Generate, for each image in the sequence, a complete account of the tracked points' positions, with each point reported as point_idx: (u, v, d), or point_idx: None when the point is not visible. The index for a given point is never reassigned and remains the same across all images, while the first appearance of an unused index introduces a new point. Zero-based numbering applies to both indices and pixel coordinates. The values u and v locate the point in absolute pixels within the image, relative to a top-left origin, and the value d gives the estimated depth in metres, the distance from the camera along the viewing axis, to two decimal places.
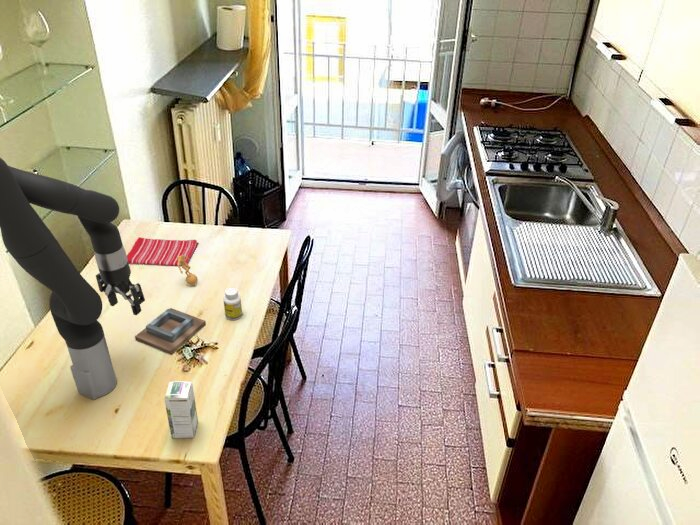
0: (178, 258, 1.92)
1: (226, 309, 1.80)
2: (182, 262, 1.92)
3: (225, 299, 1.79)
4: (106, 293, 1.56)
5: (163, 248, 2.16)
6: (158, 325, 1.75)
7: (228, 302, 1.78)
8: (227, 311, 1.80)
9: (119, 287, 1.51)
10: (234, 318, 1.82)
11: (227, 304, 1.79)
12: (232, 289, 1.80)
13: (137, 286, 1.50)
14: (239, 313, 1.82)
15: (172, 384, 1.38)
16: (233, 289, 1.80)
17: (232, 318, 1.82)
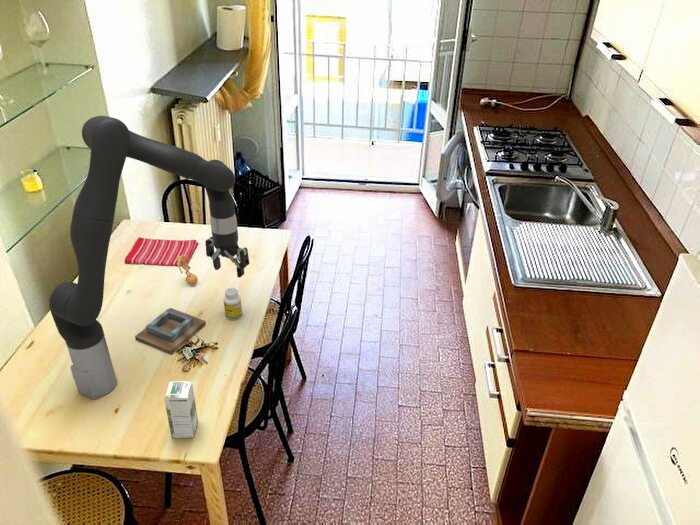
0: (178, 258, 1.92)
1: (226, 309, 1.80)
2: (182, 262, 1.92)
3: (225, 299, 1.79)
4: (213, 257, 1.73)
5: (163, 248, 2.16)
6: (158, 325, 1.75)
7: (228, 302, 1.78)
8: (227, 311, 1.80)
9: (228, 251, 1.68)
10: (234, 318, 1.82)
11: (227, 304, 1.79)
12: (232, 289, 1.80)
13: (245, 250, 1.67)
14: (239, 313, 1.82)
15: (172, 384, 1.38)
16: (233, 289, 1.80)
17: (232, 318, 1.82)
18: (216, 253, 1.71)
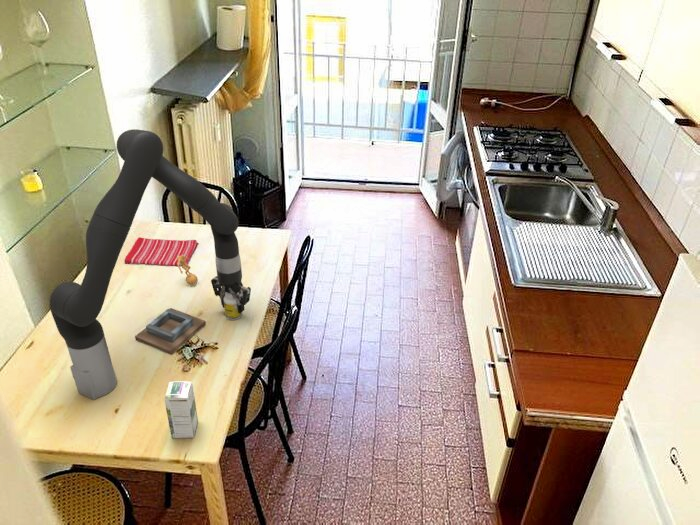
0: (178, 258, 1.92)
1: (226, 309, 1.80)
2: (182, 262, 1.92)
3: (225, 299, 1.79)
4: (221, 296, 1.81)
5: (163, 248, 2.16)
6: (158, 325, 1.75)
7: (228, 302, 1.78)
8: (227, 311, 1.80)
9: (232, 288, 1.76)
10: (234, 318, 1.82)
11: (227, 304, 1.79)
12: None
13: (248, 290, 1.75)
14: None
15: (172, 384, 1.38)
16: None
17: (232, 318, 1.82)
18: (222, 291, 1.78)
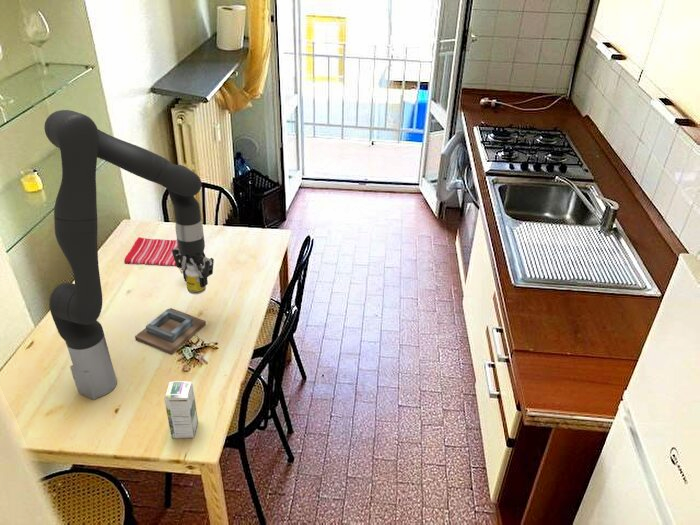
0: None
1: (188, 282, 1.68)
2: None
3: (187, 271, 1.67)
4: (183, 269, 1.68)
5: (163, 248, 2.16)
6: (158, 325, 1.75)
7: (189, 274, 1.66)
8: (189, 284, 1.68)
9: (194, 259, 1.63)
10: (196, 292, 1.69)
11: (188, 276, 1.66)
12: None
13: (211, 261, 1.63)
14: None
15: (172, 384, 1.38)
16: None
17: (194, 292, 1.69)
18: (183, 262, 1.66)
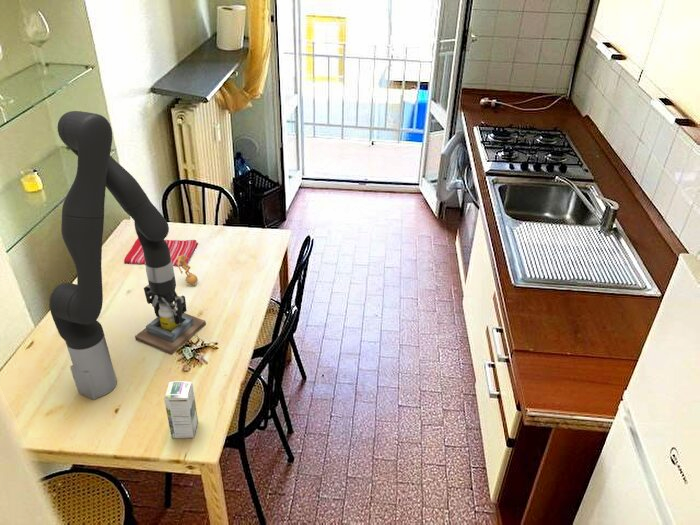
0: (178, 258, 1.92)
1: (161, 322, 1.72)
2: (182, 262, 1.92)
3: (160, 312, 1.70)
4: (153, 305, 1.71)
5: None
6: (158, 325, 1.75)
7: (162, 315, 1.70)
8: (162, 324, 1.72)
9: (165, 298, 1.67)
10: (170, 331, 1.73)
11: (161, 317, 1.70)
12: None
13: (182, 298, 1.66)
14: (175, 326, 1.73)
15: (172, 384, 1.38)
16: None
17: None
18: (155, 300, 1.69)
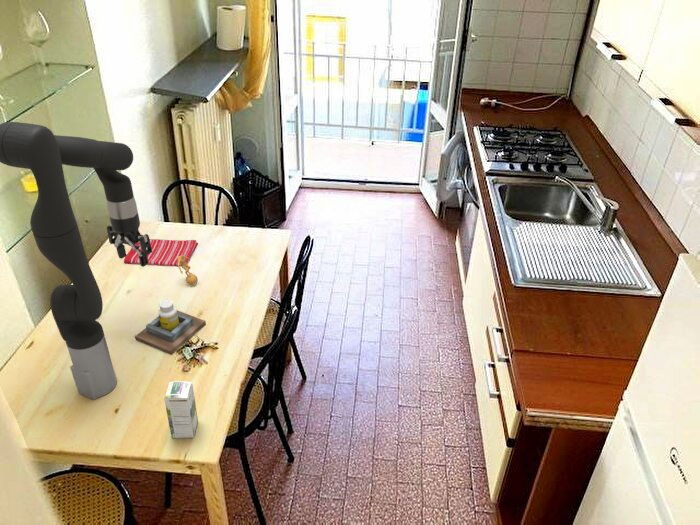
0: (178, 258, 1.92)
1: (161, 322, 1.72)
2: (182, 262, 1.92)
3: (160, 312, 1.70)
4: (115, 245, 1.63)
5: (162, 248, 2.16)
6: (158, 325, 1.75)
7: (162, 315, 1.69)
8: (162, 324, 1.72)
9: (128, 237, 1.58)
10: (170, 331, 1.73)
11: (161, 317, 1.70)
12: (167, 301, 1.71)
13: (145, 236, 1.57)
14: (175, 326, 1.73)
15: (172, 384, 1.38)
16: (168, 301, 1.71)
17: None
18: (117, 240, 1.61)
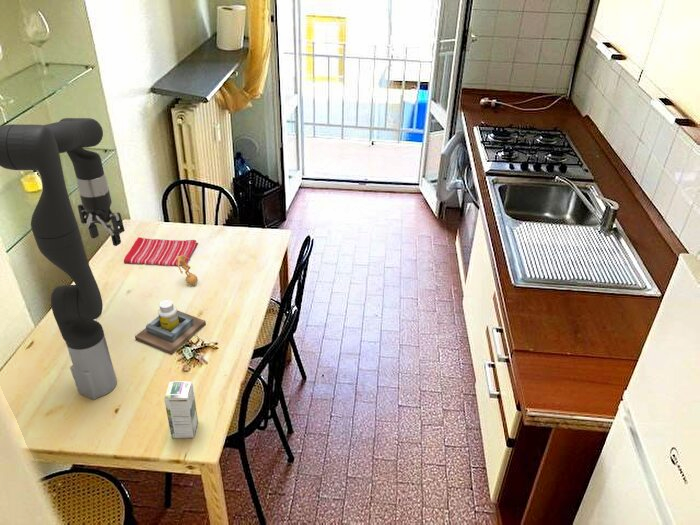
0: (178, 258, 1.92)
1: (161, 322, 1.72)
2: (182, 262, 1.92)
3: (160, 312, 1.70)
4: (87, 224, 1.61)
5: (162, 248, 2.16)
6: (158, 325, 1.75)
7: (162, 315, 1.70)
8: (162, 324, 1.72)
9: (100, 216, 1.57)
10: (170, 331, 1.73)
11: (161, 317, 1.70)
12: (167, 301, 1.71)
13: (117, 215, 1.56)
14: (175, 326, 1.73)
15: (172, 384, 1.38)
16: (168, 301, 1.71)
17: None
18: (89, 219, 1.59)
